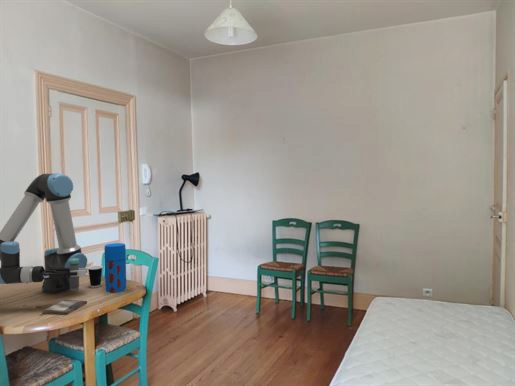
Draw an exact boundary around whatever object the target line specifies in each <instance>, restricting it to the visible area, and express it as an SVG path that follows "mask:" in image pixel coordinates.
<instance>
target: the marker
mask: <svg viewBox="0 0 515 386" xmlns="http://www.w3.org/2000/svg"><path fill="white" fill-rule="evenodd" d="M69 265H70V271H75V270H79V258H72V259H69ZM79 287H80V276H74V277H70V290H69V291H71V292H76V291H78V290H79V289H80V288H79Z"/></svg>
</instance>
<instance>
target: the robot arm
mask: <svg viewBox="0 0 515 386" xmlns="http://www.w3.org/2000/svg"><path fill="white" fill-rule="evenodd" d="M73 190H74V183H73V181H72V179H71V178H70V177H69V176H68V175H66V174H64V173H59V172H56V173H42V174H39V175H37V177H35V178H34V179H33V180H32V181H31V182H30V184H29V185H28V186H27V188H26V189H25V191H24V192H23V193H24V196H23V198H22V199H21V200H20V202H19V204H18V205H17V206H16V208H15V210H14V211H13V213H12V214H11V215H10V216H9V218H8V220H7V222H6V223H5V224H4V226H3V227H2V228H1V230H0V285H4V284H5V285H10V284H23V283H25V284H26V285H28V284H29V283H41V282H43V283H42V286H41V292H42V293H45V294H57V293H63V292H68V291H71V290H70V277H74V276H79V277H85V276H86V274H87V275H88V274H89V271H88V267H87V265H88V258H87V256H86V255H85V254H84V253H82V248H81V246H80V245H78V244H77V239H76V233H75V229H74V223H73V218H72V214H71V207H70V203H69V202H70V200H71V198H72V195H71V194H72V191H73ZM44 200H45V201H46V203H48V204H49V205H50V206H49V207H50V210H51V215H52V220H53V225H54V230H55V234H56V235H55V236H56V239H57V240H56V241H57V245H58V247H56V248H49V249H46V250H45V251H44V255H43V258H44V266H43V265H35V266H33V265H31V266H20V265H21V262H20V260H21V259H20V258H21V257H20V256H21V254H20V253H21V248H20V243H19V242H18V241H16V239H17V237H18V236H19V234H20V233H21V231H22V230H23V229H24V227H25V225H26V223H27V222H28V220H29V219H30V218H31V216H32V214H33V213H34V211H36V208H37V207H38V206H39V204H40V203H43V202H44ZM72 258H79V270H75V271H70V265H69V259H72Z"/></svg>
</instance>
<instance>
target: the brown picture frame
mask: <svg viewBox="0 0 515 386" xmlns="http://www.w3.org/2000/svg"><path fill="white" fill-rule="evenodd" d="M87 303H88V301H87V300H78V299H77V300H75V299H73V300H71V299H64V300H62V301H60V302H58V303H55V304H54V305H51V306H49V307H48V308H46V309H44V310H42V312H41V313H42V314H43V315H56V316H57V315H58V316H59V315H61V316H64V315H65V316H67V315H69V314H71V313H73V312H74V311H76V310H78V309H79V308H81V307H84V306H85V305H86V304H87Z"/></svg>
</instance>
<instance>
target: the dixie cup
mask: <svg viewBox="0 0 515 386" xmlns="http://www.w3.org/2000/svg"><path fill="white" fill-rule="evenodd" d="M87 268H88V276H89V283H90V284H89V285H90V287H91V288H94V287H95V288H99V286H100V287H101V284H102V275H103V265H92V266H89V267H87ZM95 288H94V289H95Z"/></svg>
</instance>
